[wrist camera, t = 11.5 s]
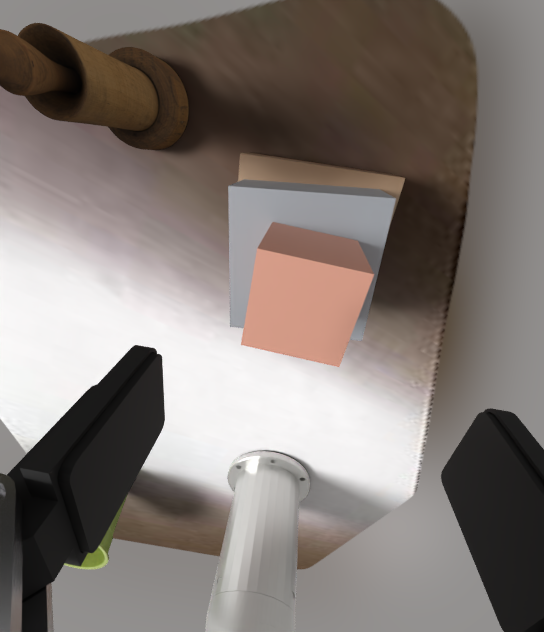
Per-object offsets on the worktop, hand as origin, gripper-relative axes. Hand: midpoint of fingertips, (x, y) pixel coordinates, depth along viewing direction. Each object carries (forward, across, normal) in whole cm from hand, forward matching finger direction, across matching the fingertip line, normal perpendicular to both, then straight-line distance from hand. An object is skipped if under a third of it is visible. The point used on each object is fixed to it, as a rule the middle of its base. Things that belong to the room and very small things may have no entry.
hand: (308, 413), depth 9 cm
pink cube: (+13, 0, 0) cm, 13 cm away
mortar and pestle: (+22, +15, -9) cm, 28 cm away
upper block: (+18, 0, 0) cm, 18 cm away
